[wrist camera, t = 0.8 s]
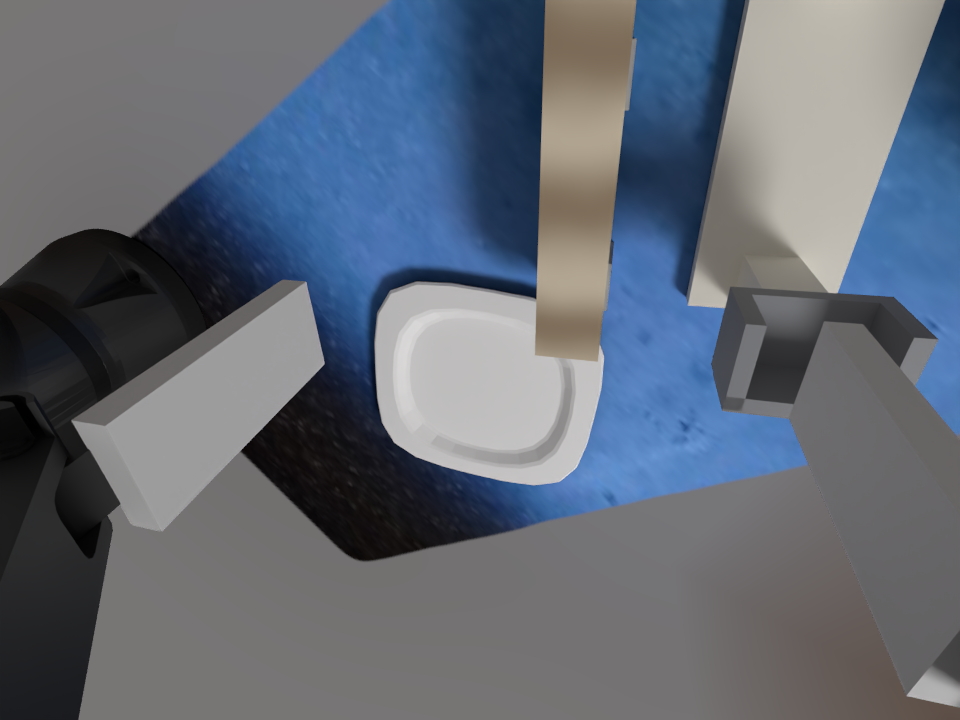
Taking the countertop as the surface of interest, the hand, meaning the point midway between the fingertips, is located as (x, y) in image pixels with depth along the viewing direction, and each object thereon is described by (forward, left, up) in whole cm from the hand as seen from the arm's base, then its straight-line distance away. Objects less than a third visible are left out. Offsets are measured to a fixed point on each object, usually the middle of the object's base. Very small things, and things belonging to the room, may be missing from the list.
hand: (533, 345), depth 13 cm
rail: (0, 0, -17) cm, 17 cm away
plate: (-7, -16, -22) cm, 28 cm away
